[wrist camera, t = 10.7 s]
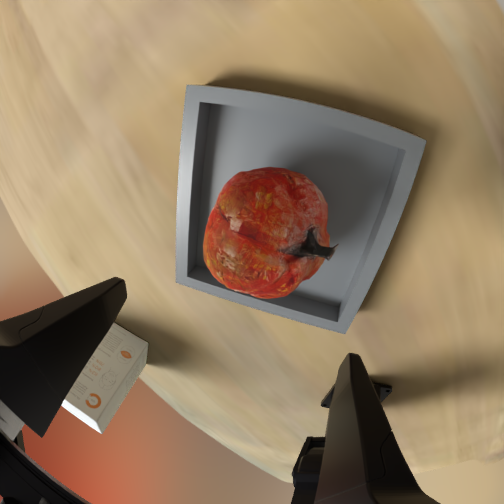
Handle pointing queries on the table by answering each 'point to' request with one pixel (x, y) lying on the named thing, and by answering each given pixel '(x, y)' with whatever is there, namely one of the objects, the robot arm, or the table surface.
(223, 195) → the pomegranate
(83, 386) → the small box
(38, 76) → the table surface
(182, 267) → the tray
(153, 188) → the table surface
